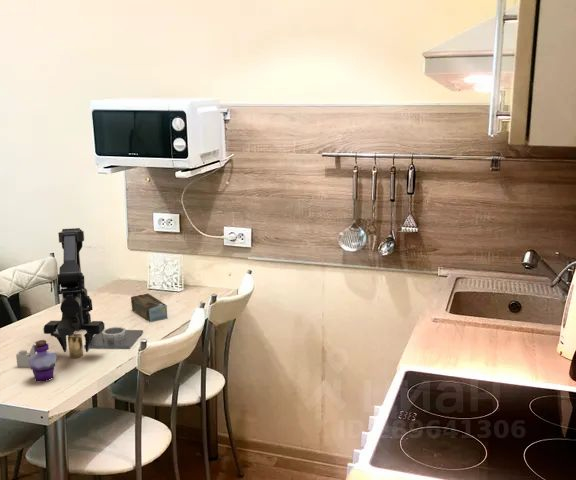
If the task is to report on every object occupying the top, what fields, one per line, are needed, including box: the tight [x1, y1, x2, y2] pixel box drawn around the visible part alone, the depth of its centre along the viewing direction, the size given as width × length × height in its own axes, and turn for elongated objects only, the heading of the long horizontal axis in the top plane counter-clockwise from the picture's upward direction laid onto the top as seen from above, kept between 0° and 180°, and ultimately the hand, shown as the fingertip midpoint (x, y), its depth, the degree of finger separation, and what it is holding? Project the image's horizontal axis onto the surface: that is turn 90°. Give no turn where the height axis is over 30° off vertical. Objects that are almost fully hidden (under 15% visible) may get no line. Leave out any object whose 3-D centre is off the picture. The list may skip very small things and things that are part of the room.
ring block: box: [83, 326, 144, 350], centre depth 224 cm, size 16×16×4 cm
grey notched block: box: [15, 341, 37, 368], centre depth 201 cm, size 7×2×8 cm, turn 90°
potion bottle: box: [28, 339, 57, 382], centre depth 191 cm, size 9×9×12 cm
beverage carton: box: [130, 292, 168, 323], centre depth 252 cm, size 8×19×7 cm, turn 35°
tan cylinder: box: [67, 333, 84, 360], centre depth 209 cm, size 4×4×7 cm
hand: (76, 351), depth 210 cm, fingers open, 7 cm apart
